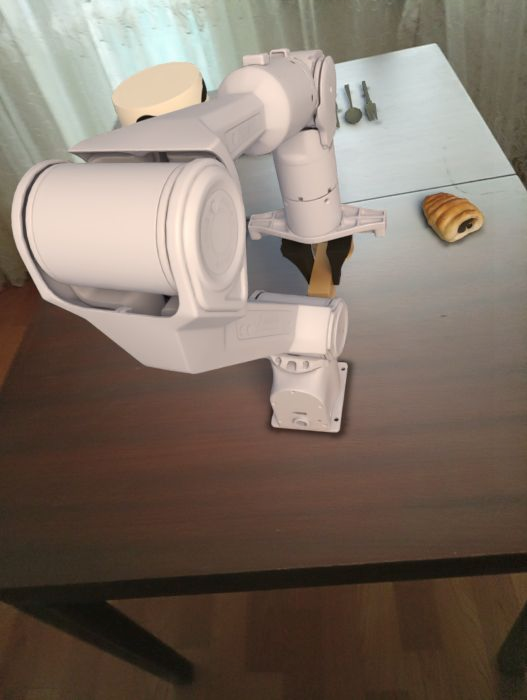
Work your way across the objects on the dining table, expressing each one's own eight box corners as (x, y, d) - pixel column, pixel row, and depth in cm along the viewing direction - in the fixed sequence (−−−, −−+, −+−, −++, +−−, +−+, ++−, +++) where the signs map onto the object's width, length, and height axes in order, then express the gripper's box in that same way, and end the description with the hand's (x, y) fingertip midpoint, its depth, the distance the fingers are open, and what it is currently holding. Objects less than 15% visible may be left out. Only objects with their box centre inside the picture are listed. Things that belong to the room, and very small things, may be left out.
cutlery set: (226, 113, 107) (223, 103, 105) (367, 83, 102) (366, 71, 101) (222, 165, 95) (219, 154, 93) (382, 133, 90) (382, 121, 88)
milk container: (246, 152, 96) (220, 53, 82) (218, 209, 87) (184, 109, 73) (167, 155, 102) (131, 63, 88) (133, 209, 92) (86, 116, 78)
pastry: (409, 213, 76) (410, 192, 73) (448, 196, 76) (450, 174, 73) (447, 247, 70) (449, 225, 67) (488, 228, 70) (492, 206, 68)
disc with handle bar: (316, 236, 66) (313, 215, 64) (356, 235, 65) (354, 213, 62) (300, 312, 59) (295, 292, 56) (343, 313, 58) (341, 292, 55)
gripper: (387, 153, 49) (389, 254, 59) (247, 162, 53) (273, 255, 64) (382, 200, 45) (385, 299, 56) (231, 206, 49) (261, 297, 60)
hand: (325, 279), depth 59 cm, fingers closed on disc with handle bar, 2 cm apart
